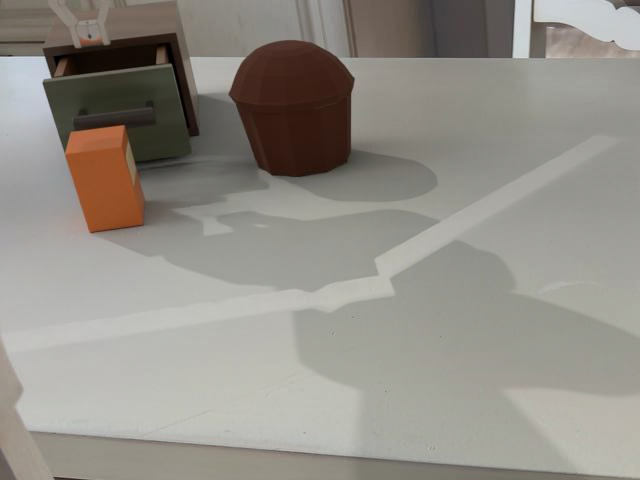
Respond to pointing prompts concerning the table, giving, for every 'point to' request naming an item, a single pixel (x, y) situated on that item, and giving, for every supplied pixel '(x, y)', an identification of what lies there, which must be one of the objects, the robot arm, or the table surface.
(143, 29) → the cabinet
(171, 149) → the drawer
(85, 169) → the orange block
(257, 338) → the table surface
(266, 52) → the muffin
